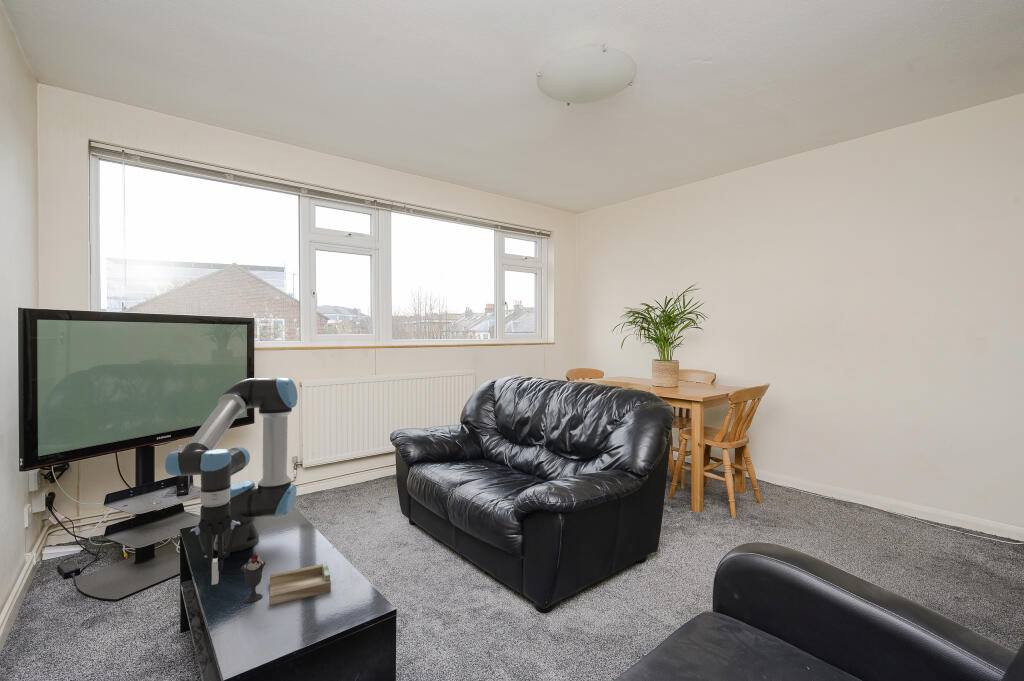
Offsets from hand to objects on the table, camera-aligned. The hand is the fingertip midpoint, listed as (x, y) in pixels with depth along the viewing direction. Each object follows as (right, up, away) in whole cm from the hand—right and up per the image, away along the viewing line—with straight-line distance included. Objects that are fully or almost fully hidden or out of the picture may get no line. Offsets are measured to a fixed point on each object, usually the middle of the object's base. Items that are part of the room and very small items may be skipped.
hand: (215, 582), depth 135 cm
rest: (+20, -8, +11) cm, 24 cm away
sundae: (+9, -8, +5) cm, 13 cm away
